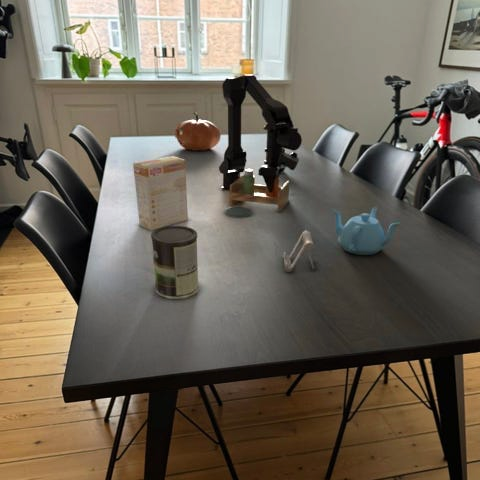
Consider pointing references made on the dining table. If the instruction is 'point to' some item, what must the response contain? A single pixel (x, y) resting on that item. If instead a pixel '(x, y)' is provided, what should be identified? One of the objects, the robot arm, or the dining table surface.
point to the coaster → (238, 212)
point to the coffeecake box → (161, 192)
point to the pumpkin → (197, 134)
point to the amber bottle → (275, 189)
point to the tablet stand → (306, 246)
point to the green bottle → (248, 182)
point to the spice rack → (259, 194)
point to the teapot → (363, 233)
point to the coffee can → (175, 261)
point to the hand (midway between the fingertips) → (272, 190)
